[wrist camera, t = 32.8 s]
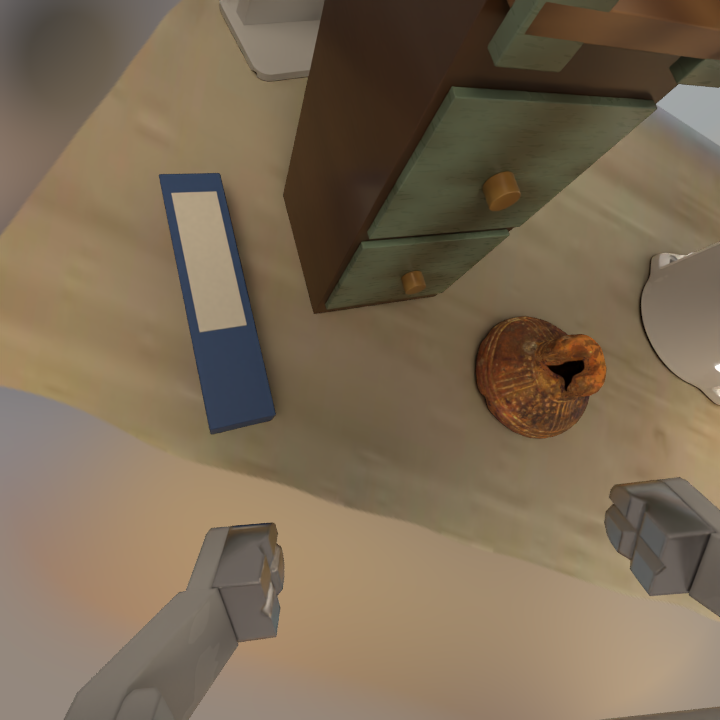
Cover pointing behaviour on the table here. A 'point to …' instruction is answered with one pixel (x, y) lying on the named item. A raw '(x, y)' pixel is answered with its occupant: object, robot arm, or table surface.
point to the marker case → (216, 302)
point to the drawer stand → (466, 126)
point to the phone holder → (275, 34)
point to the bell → (538, 375)
